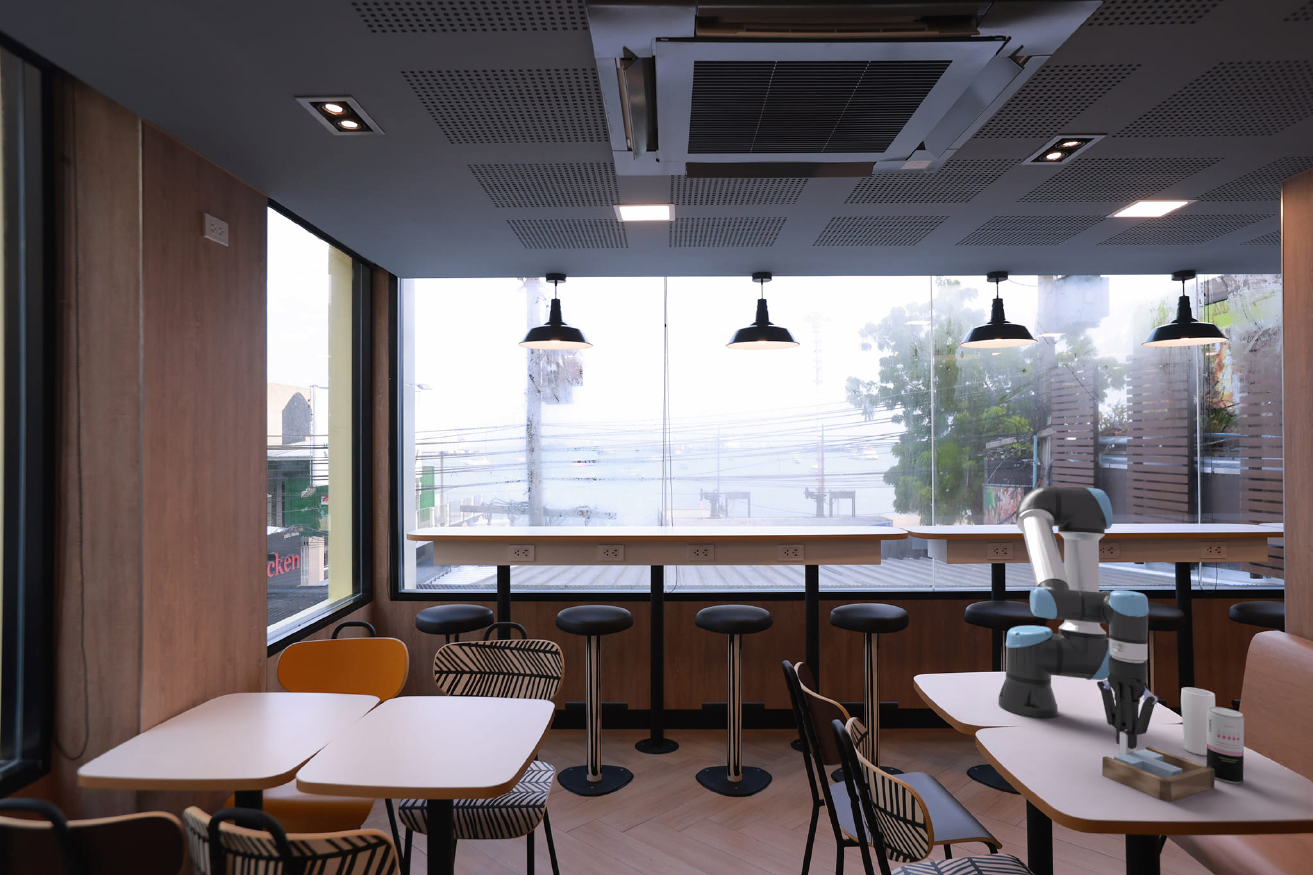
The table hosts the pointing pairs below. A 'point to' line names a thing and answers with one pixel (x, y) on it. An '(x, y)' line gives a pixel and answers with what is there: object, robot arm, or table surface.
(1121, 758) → the tee block
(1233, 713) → the beverage can
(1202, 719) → the white paper cup
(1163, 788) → the walnut corral
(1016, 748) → the table surface
